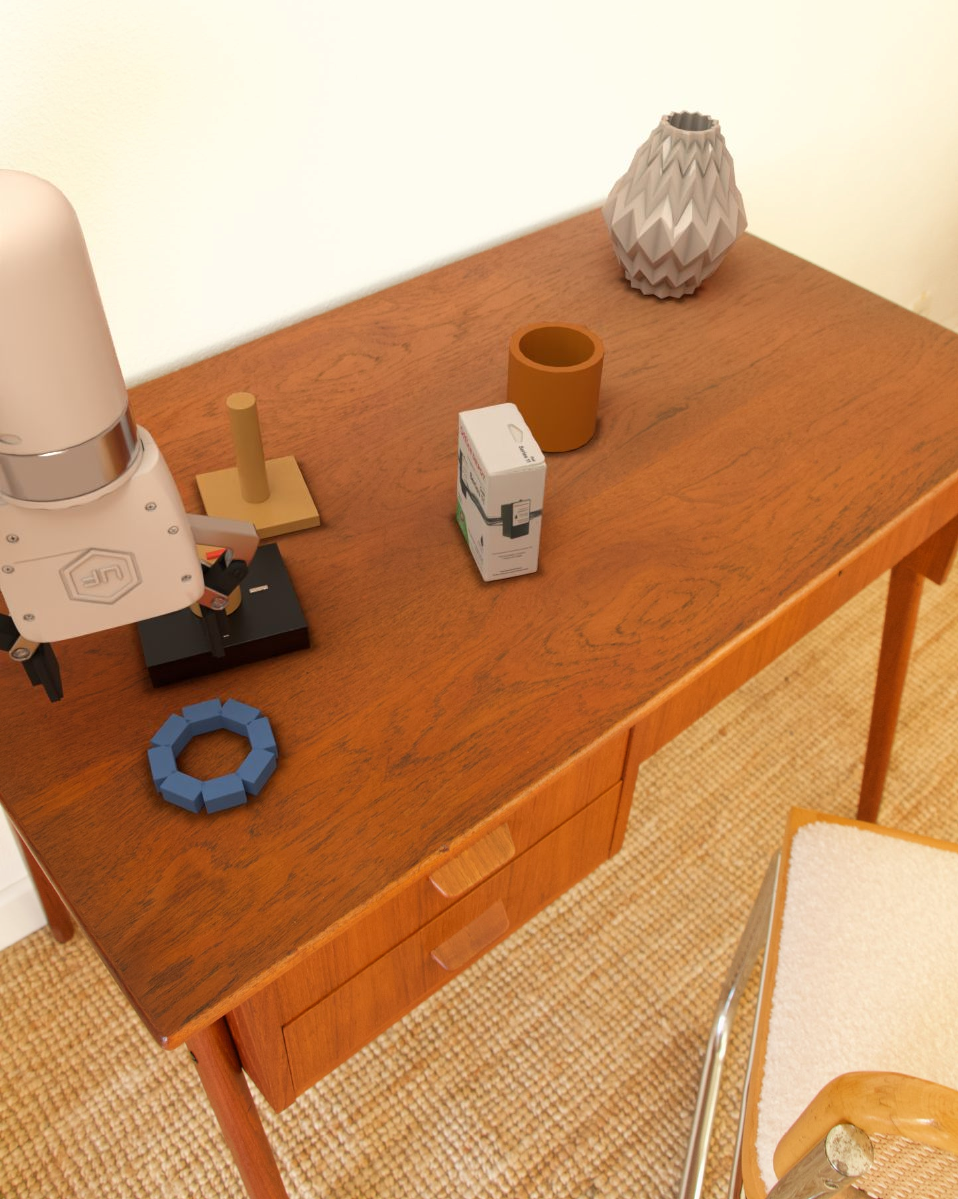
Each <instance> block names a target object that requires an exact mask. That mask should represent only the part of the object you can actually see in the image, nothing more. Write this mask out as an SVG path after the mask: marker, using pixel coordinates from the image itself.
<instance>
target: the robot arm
mask: <svg viewBox="0 0 958 1199" xmlns="http://www.w3.org/2000/svg"><path fill="white" fill-rule="evenodd" d="M91 260H92V259H91V256H90V253H89V250H88V247H87V243H86V239H85V235H84V232H83V229H82V226H81V223H80V220H79V217H78V214H77V212H76V209H75V207H74V206H73V204H72V203H71V202H70V200H69V198H68V197H67V196H66V194H65V193H64V192H63V191H62V190H61V189H60V188H59V187H57V186H56V185H55V184H54V183H52V182H51V181H49V180H47V179H45V178H42V177H41V176H38V175H35V174H34V173H30V172H25V171H22V170H15V169H6V168H5V169H4V168H3V169H2V168H0V594H2V597H3V599H4V602H5V604H6V606H7V610H8V612H9V613H8V614H4V613H2V612H0V651H4V652H6V653H8V656H9V658H10V659H11V660H13V661H15V662H20V663H21V665H22V667H23V669H24V671H25V673H26V675H27V677H28V679H29V681H30V684H31V685H32V687H37V686H40V685H42V686H43V688H44V691H45V693H46V695H47V697H48V700H49V701H50V703H51V704H53V703H57V702H60V701H61V700H62V699H63V698H64V697H65V696H64V690H63V682H62V676H61V670H60V669H61V668H60V664H59V661H58V659H57V656H56V654H55V652H54V650H53V647H52V644H51V643H55V642H60V641H65V640H69V639H75V638H77V637H82V636H86V635H90V634H94V633H98V632H102V631H106V630H110V629H114V628H119V627H122V626H126V625H129V624H134V623H137V622H138V621H141V620H145V619H149V618H153V617H156V616H160V615H164V614H168V613H171V612H174V611H178V610H181V609H183V608H186V607H188V606H190V605H192V604H193V603H195V602H197V603H199V607H200V611H201V614H202V618H203V622H204V626H205V629H206V633H207V636H208V640H209V643H210V647H211V650H212V654H213V657H215V656H217V658H219V657H223V656H225V653H224V649H223V645H222V641H221V637H222V636H225V635H229V634H231V630H230V626H229V622H228V618H227V613H226V609H225V608H226V607H227V606H228V604H229V598H228V596H229V595H230V594H231V593H232V592H233V591H234V589H235V588H236V587H237V586H238V585H239V584H240V583H241V582H242V580H243V579H244V578H245V577H246V576H247V574H248V572H249V570H248V566H249V563H250V561H252V559H253V557H254V554H255V552H256V550H257V548H258V546H260V543H261V539H260V538H259V536H258V533H257V530H256V527H255V525H254V524H253V523H251V522H246V521H239V520H232V519H225V518H218V517H211V516H207V515H203V514H197V513H196V514H195V513H189V512H186V509H185V506H184V503H183V500H182V497H181V494H180V492H179V489H178V486H177V484H176V481H175V479H174V477H173V475H172V472H171V470H170V468H169V466H168V464H167V462H166V460H165V457H164V455H163V454H162V451H161V450H160V447H159V446H158V444H157V443H156V441H155V440H154V438H153V435H151V433H150V432H149V431H148V430H147V429H146V428H145V427H143V426H142V425H140V424H138V423H137V422H136V418H135V415H134V412H133V408H132V404H131V401H130V397H129V395H128V389H127V387H126V383H125V379H124V375H123V372H122V368H121V365H120V361H119V358H118V355H117V351H116V348H115V344H114V339H113V336H112V332H111V330H110V325H109V322H108V318H107V314H106V311H105V308H104V304H103V301H102V297H101V293H100V290H99V286H98V283H97V282H98V281H97V279H96V278H97V277H96V275H95V272H94V267H93V265H92V261H91ZM196 544H197V545H205V546H213V547H221V548H228V549H226V550H225V551H224V552H223V553H222V554H221V555H220V557H219V558H218V559H217V560H216V561H215V562H214V564H211V563H209V562H207V561H205V560H203V559H201V558H199V554H198V550H197V547H196Z"/></svg>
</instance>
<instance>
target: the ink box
mask: <svg viewBox="0 0 958 1199" xmlns="http://www.w3.org/2000/svg"><path fill="white" fill-rule="evenodd" d="M457 443H458V445H457V446H458V448H457V450H458V451H457V480H456V481H457V482H456V522H457V524H458V526H459V528H460V530H461V532H462V534H463V537H464V540H465V541H466V544H467V545H468V546H467V547H468V548H469V550H470V552H471V555H472V557H473V559H474V561H475V564H476V566H477V568H478V570H479V572H480V575H481V578H482V579H483V581H484V582H492V581H499V580H503V579H504V580H505V579H508V578H514V577H518V576H524V575H527V574H533V573H536V572H537V571H538V564H539V554H540V553H539V552H540V543H541V532H542V521H543V508H544V501H545V500H544V498H545V488H546V479H547V478H546V476H547V467H548V466H547V463H546V456H545V455H544V454H543V451H541V450H540V448H539V446H538V444H537V442H536V441H535V439H534V438H533V436H532V433H531V431H530V429H529V428H528V426H527V425H526V423H525V422H524V419H523V417H522V415H521V414H520V412H519V411H518V409H517V407H516V405H515V404H512V403H507V402H505V403H499V404H495V405H490V406H485V407H480V408H475V409H472V410H471V409H470V410H464V411H460V412H459V413H458V442H457Z"/></svg>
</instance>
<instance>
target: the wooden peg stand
mask: <svg viewBox="0 0 958 1199" xmlns="http://www.w3.org/2000/svg"><path fill="white" fill-rule="evenodd" d="M225 405H226V411H227V417H228V423H229V429H230V435H231V438H232V439H231V440H232V445H233V451H234V456H235V463H236V466H234V467H233V466H232V467H228V468H224V469H219V470H215V471H210V472H205V473H201V474H196V475H195V480H196V485H197V488H198V491H199V494H200V497H201V501H202V504H203V507H204V511H205V514H206V516H211V517H218V518H225V519H232V520H239V521H246V522H251V523H253V524H254V525H255V527H256V530H257V533H258V536H259V538H260V540H264V539H267V538H273V537H275V536H276V537H277V536H280V535H285V534H289V533H294V532H298V531H302V530H307V529H311V528H316V527H321V518H320V514H319V511H318V509H317V507H316V504H315V503H314V500H313V497H312V495H311V493H310V490H309V488H308V486H307V484H306V482H305V479H304V477H303V474H302V472H301V470H300V467H299V465H298V462H297V460H296V459H295V456H294V454H292V455H287V456H282V457H281V456H280V457H277V458H273V459H268V460H266V457H265V451H264V445H263V438H262V431H261V425H260V424H261V423H260V419H259V411H258V404H257V398H256V396H255V395H254V394H252V393H250V392H245V391H239V392H234V393H231V394H230V395H229V396H228V397H227V398H226V400H225Z"/></svg>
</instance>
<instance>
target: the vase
mask: <svg viewBox="0 0 958 1199" xmlns="http://www.w3.org/2000/svg"><path fill="white" fill-rule="evenodd" d="M721 132H722V131H721V125H720V121H719V119H714V118H712V116H711V114H702V113H701V112H699V111H698V110H697V111H693V112H690V111H688V110H686V109H683V110H681V111H680V112H677V111H673V110H672V111H670V113H669V114H662V115H661V118H660V121H659V123H658V125H657V127H655V128H653V129H652V130H651V132H650V134H649V137H648V139H647V140H645V141H644V142H643V143H642V144H641V145H640V146H639V147H637V149H636V151H635V153H634V155H633V158H632V160H631V163H630V165H629V167H628V169H627V171H626V172H625V173H624V174H623V175H622V176H620V178H618V179H617V180H616V181H615V182H614V184H613V187H612V188H611V190H610V191H609V193H608V195H607V198H606V200H605V202H604V204H603V206H602V208H601V215H602V217H603V220H604V223H605V225H606V228H607V231H608V234H609V238H610V242H611V247H612V249H613V251H614V254H615V256H616V259H617V262H618V264H619V266H620V268H622V269H623V270H624V274H625V280H627V281H630V288H633V289H639V290H640V291H641V293H642V295H647V296H648V295H654V296H656V297H657V298H659V299H662V300H663V299H664V298H667V297H672V298H675V299H680V298H681V297H682V296H683V295H693V294H694V292H695V289H696V288H698V287H700V286H701V284H702V281H703V280H706V279H709V278H711V277H712V276H713V275H714V274H715V272H716V271H717V269H718V268H719V266H721V264H722V263H723V261H724V260H725V259H726V257H727V255H728V254H729V252H730V251H731V250H732V249H733V247H734V246H735V245H736V243H737V242H738V240H739V239H740V238H741V237H742V235H743V234H744V232H745V231H746V229H747V228H748V225H749V223H748V218H747V213H746V209H745V204H744V200H743V195H742V193H741V191H740V190H739V188H738V186H737V184H736V173H735V165H734V164H735V163H734V158H733V156H732V155H731V153H730V151H729V149H728V148H727V145H726V138H725V136H724V135H723V134H722V133H721Z"/></svg>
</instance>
